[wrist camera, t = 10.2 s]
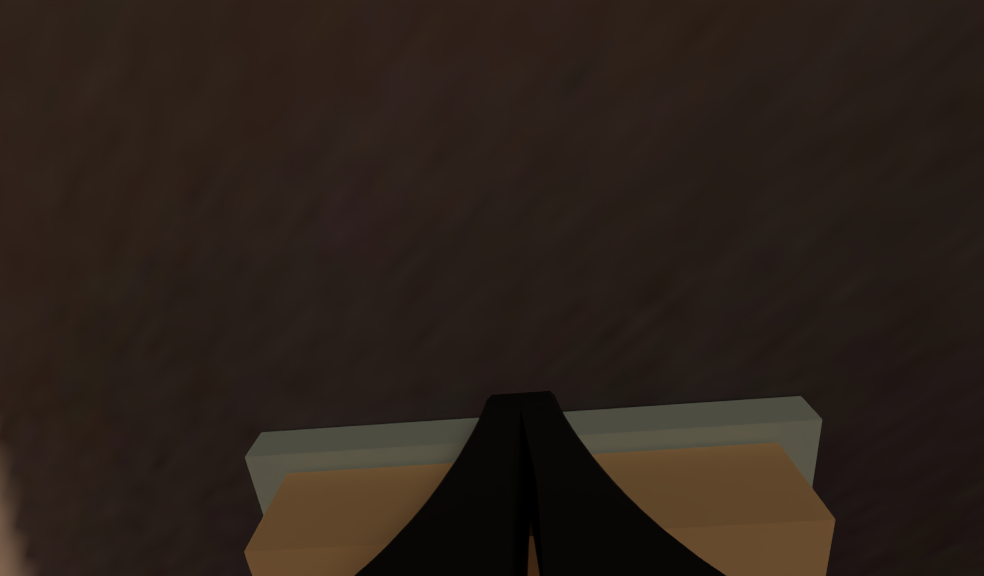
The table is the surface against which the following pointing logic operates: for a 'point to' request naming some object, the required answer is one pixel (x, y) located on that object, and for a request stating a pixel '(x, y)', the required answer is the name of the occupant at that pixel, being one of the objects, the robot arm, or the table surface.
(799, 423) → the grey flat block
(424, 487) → the block
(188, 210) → the table surface
